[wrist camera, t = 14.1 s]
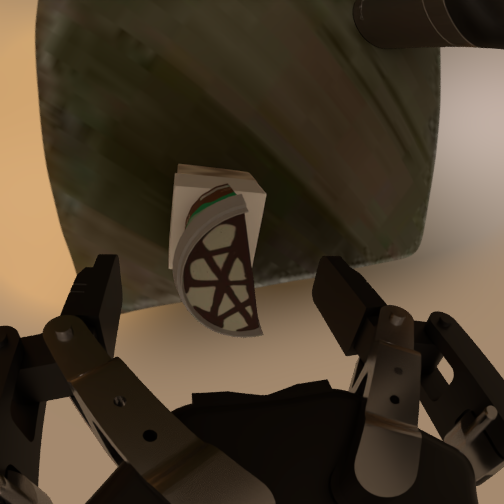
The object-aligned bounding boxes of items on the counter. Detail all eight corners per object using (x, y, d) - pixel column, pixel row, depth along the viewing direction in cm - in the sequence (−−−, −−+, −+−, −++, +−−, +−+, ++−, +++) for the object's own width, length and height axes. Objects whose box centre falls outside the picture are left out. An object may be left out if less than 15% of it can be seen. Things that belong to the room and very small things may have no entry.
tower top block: (254, 180, 35) (266, 193, 31) (242, 250, 39) (251, 272, 35) (175, 173, 33) (174, 185, 28) (169, 247, 37) (168, 268, 32)
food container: (160, 180, 28) (153, 221, 19) (225, 168, 29) (247, 203, 20) (187, 288, 34) (193, 354, 25) (241, 277, 35) (264, 339, 26)
